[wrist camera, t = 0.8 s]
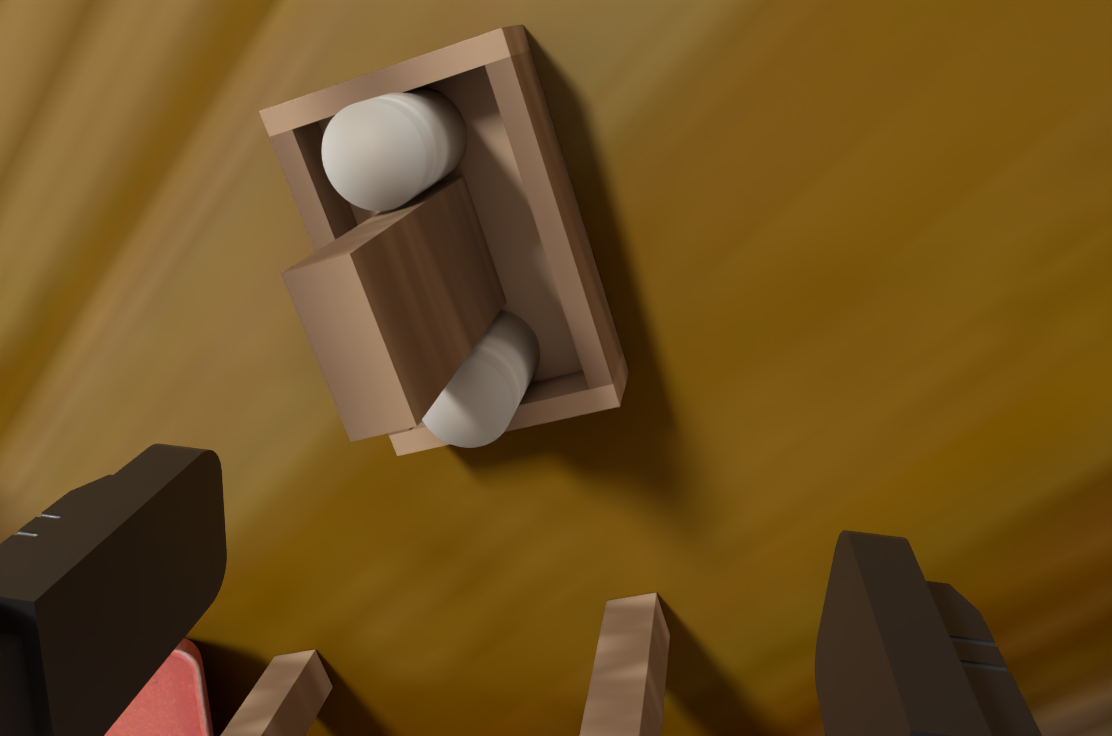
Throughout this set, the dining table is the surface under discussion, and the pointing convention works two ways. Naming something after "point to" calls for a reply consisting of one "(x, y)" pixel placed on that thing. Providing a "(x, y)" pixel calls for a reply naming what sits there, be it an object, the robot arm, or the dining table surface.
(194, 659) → the plant saucer
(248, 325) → the dining table surface
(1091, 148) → the dining table surface
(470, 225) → the caddy
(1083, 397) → the dining table surface
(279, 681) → the stool
